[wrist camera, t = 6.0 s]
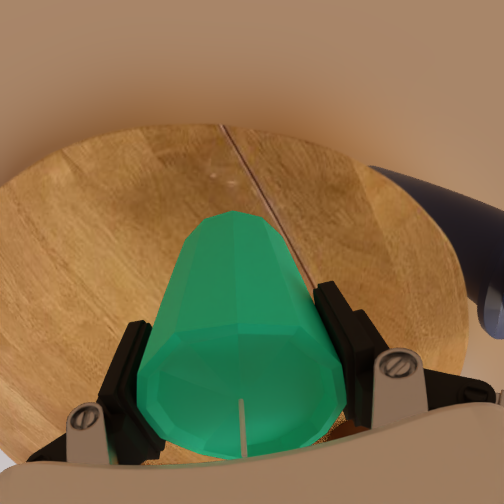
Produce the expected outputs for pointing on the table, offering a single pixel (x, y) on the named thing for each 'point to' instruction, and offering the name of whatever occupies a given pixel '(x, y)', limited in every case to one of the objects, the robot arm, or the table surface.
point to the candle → (239, 348)
